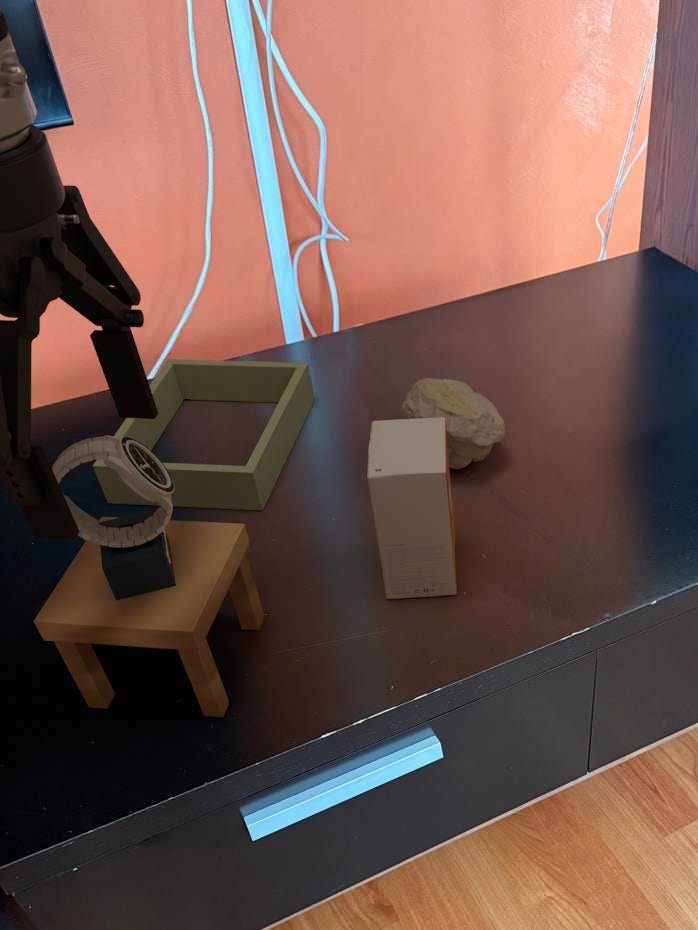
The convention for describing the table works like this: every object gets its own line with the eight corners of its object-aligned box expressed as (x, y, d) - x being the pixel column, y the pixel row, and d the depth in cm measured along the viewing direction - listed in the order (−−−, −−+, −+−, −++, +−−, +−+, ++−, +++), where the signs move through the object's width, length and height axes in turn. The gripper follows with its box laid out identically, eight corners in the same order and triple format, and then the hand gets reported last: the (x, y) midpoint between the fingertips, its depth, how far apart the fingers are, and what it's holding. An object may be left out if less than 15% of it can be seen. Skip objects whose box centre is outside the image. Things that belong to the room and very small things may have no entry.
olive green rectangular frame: (107, 503, 94) (92, 465, 91) (179, 394, 108) (167, 358, 105) (262, 510, 92) (252, 472, 89) (315, 399, 106) (308, 362, 103)
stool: (81, 711, 75) (32, 621, 68) (139, 606, 83) (101, 516, 76) (226, 722, 74) (192, 631, 66) (270, 614, 82) (244, 523, 75)
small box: (458, 596, 82) (447, 472, 73) (385, 600, 82) (364, 477, 73) (456, 536, 88) (446, 414, 78) (388, 540, 88) (369, 419, 79)
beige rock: (442, 412, 103) (382, 464, 98) (426, 343, 97) (362, 395, 92) (533, 439, 97) (474, 496, 92) (522, 367, 91) (459, 424, 86)
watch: (202, 579, 70) (159, 454, 62) (91, 606, 69) (32, 482, 61) (194, 534, 74) (152, 411, 66) (88, 559, 72) (32, 436, 65)
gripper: (-98, 240, 41) (74, 599, 56) (128, 64, 58) (213, 376, 73) (-255, 237, 42) (-43, 591, 57) (13, 65, 59) (121, 373, 74)
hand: (101, 471), depth 65 cm, fingers open, 13 cm apart
